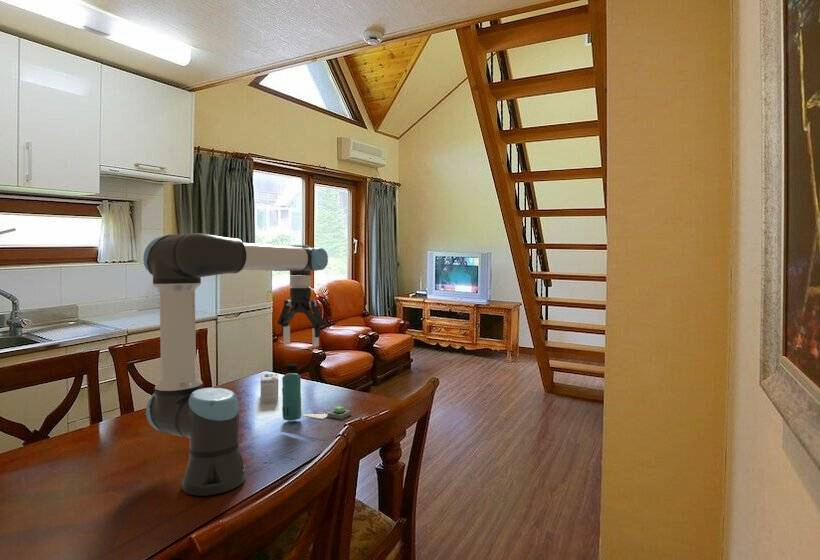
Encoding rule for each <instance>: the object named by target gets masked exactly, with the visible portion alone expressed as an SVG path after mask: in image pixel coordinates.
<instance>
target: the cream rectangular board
mask: <svg viewBox="0 0 820 560" xmlns="http://www.w3.org/2000/svg"><path fill="white" fill-rule="evenodd" d="M302 416H303V417H307V418H310V419H311V418H312V419H317V420H325V419H326V418H328V417H327V414H325V413H324V414H313V413H307V414H302Z"/></svg>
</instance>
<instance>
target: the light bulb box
mask: <svg viewBox="0 0 820 560" xmlns="http://www.w3.org/2000/svg"><path fill="white" fill-rule="evenodd" d="M278 402H279V375H278V373H267V374H263V373H262V374H261V375H260V404H271V403H272V404H276V403H278Z"/></svg>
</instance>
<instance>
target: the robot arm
mask: <svg viewBox="0 0 820 560" xmlns="http://www.w3.org/2000/svg"><path fill="white" fill-rule="evenodd" d="M142 259H143V265H144V267H145V269H146V271H148V273H149V274H150V275H152V286H154V287H155V288H156V289H157V290H158V292H159V327H160V328H159V330H160V331H159V332H160V337H159V338H160V380H159V381H158V383H156V385H155V386H154V393H153V394H152V395H151V396H150V399H148V401H147V404H146V407H145V408H146V409H145V416H146V419H147V422H148V424H149V425H150V426H151V427H152V428H153V429H154V430H157V431H159V432H161V433H163V434H167V435H173V436H178V437H182V438H186V439H189V457H188V461H187V464H186V468H185V472H184V475H183V476H182V478H181V479H182V481H181V482H182V483H181V484H182V485H181V486H182V487H181V488H182V491H183V492H185V493H186V494H188V495H192V496H212V495H213V496H214V495H218V494H222V493H225V492H226V493H227V492H229V491H231V490H234V489H236V488H238V487H240V486H241V485H242V484H243V483H244V482H245V480H246V479H247V471H246V470H247V468H246V465H245V463H244V460H243V458H242V455H241V452H240V449H239V448H240V447H239V435H240V434H239V428H240V427H239V426H240V425H239V423H240V422H239V417H240V416H239V414H240V412H239V411H240V406H239V402H238V401H239V399H238V396H237V394H236V393H235V392H234V391H232V390H230V389H227V388H222V387H217V388H216V387H204V388H203V381H202V380H201V379H200V378H199V377H197V348H196V345H197V343H196V342H197V340H196V339H197V338H196V337H197V336H196V335H197V334H196V332H197V331H196V290H197V289H198V288H199V286H200V285H201V284H202V278H204V277H205V278H207V277H212V276H218V275H225V274H226V275H227V274H238V273H240V272H242V271H243V270H244V271H273V272H285V271H288V272H289V287H291V288H290V289H289V298H291V299H285V300H284V301H283V306H282V310H281V313H280V315H279V317H278V321H277V325H280V326H281V328H282V329H281V331H282V332H281V333H282V336H283V337H282V338H283V345H289V344H291V325H290V323H291V322H292V320H293V319H294V317H295V315H296V314H297V313H300V314H304V315H305V316H306V317H307V319H308V321H310V324H311V325H312V328H311V329H312V330H311V331H312V333H311V335H312V337H311V338H312V339H311V340H312V342H311V343H312V344H311V346H312V348H313V347H319V346H320V337H321V328H323V327H325V326H326V323H325V321H324V318H323V316H322V314H321V309H320V308H319V304H318V303H319V302H318V300H311V297H312V288H311V286H312V275H311V274H312V272H311V271H315V272H317V271H323V270H324V269H326V268H327V266H328V263H329V255H328V253H327V251H326V250H325V249H324V248H323V247H315V246H314V247H311V246H309V245H307V244H292V245H289V246H287V245H279V244H278V245H275V244H262V243H252V242H250V243H248V242H243V241H242V240H241V239H239V238H234V237H225V236H219V235H215V234H208V233H202V232H201V233H200V232H199V233H197V232H195V233H194V232H192V233H178V234H176V233H175V234H167V235H163V236H162V235H161V236H158V237H155V238H154V239H153V240H151V242H150V243H148V245H147V246H146V247H145V249H144V252H143V258H142Z"/></svg>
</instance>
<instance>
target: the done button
mask: <svg viewBox="0 0 820 560" xmlns="http://www.w3.org/2000/svg"><path fill="white" fill-rule="evenodd" d="M333 410H334V412H335V413H343V412H344V410H345V407H344V406H342V405H341V406H339V405H338V406H335V407H333Z"/></svg>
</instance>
